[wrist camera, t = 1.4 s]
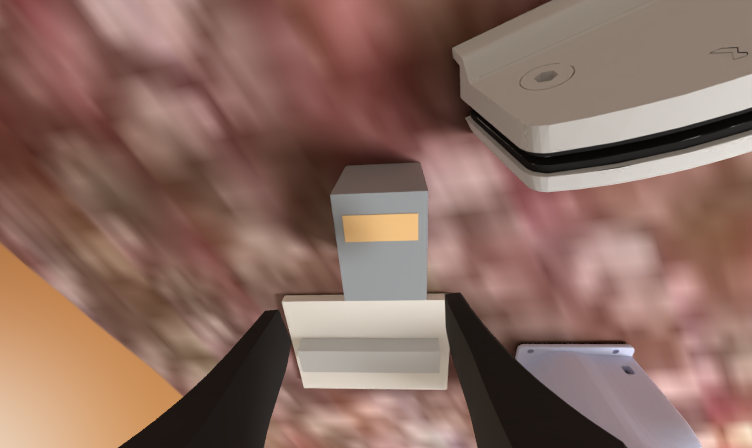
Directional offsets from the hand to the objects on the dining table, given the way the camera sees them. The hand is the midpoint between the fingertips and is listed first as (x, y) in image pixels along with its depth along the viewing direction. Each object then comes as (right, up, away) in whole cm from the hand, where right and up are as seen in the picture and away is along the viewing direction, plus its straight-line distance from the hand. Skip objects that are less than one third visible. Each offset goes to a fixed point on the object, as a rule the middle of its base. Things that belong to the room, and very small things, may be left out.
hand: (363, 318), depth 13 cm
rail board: (0, -7, +15) cm, 16 cm away
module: (+1, +5, +9) cm, 10 cm away
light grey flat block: (+14, +14, +4) cm, 20 cm away
